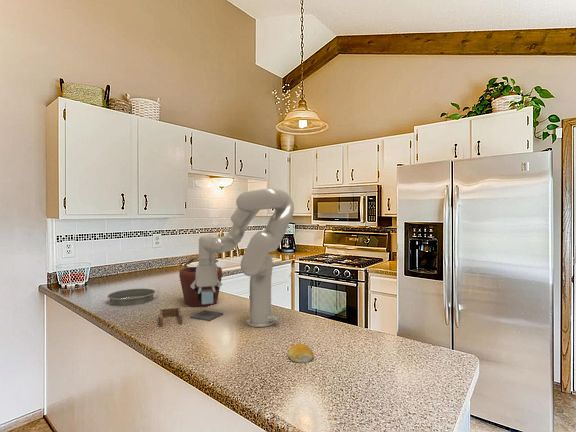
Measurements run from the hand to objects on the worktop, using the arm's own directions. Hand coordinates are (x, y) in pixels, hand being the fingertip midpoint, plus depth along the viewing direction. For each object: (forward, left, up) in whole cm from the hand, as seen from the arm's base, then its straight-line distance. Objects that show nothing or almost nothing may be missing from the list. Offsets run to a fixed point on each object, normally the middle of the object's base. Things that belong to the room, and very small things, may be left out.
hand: (206, 300), depth 156 cm
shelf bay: (+11, +12, -8) cm, 18 cm away
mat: (0, 0, -8) cm, 8 cm away
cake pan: (+57, -8, -8) cm, 58 cm away
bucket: (+17, -19, -8) cm, 26 cm away
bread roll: (-57, +25, -8) cm, 63 cm away
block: (-1, +1, -1) cm, 1 cm away
